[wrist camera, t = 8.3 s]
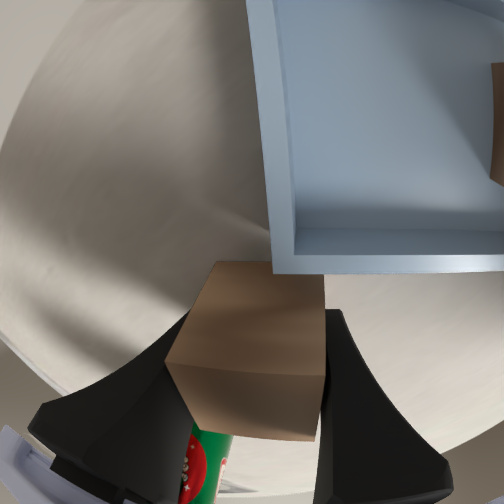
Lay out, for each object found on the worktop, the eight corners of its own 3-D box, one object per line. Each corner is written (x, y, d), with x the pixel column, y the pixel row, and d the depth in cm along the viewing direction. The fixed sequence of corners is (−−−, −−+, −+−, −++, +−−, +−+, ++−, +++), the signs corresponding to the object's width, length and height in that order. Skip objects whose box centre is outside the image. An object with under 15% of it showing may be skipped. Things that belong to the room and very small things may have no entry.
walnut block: (323, 261, 10) (325, 375, 6) (319, 339, 12) (314, 441, 8) (216, 261, 11) (164, 361, 7) (231, 335, 13) (199, 429, 9)
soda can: (210, 424, 18) (165, 562, 8) (153, 389, 17) (87, 535, 7) (256, 408, 16) (212, 583, 6) (190, 367, 15) (112, 560, 5)
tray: (562, 49, 3) (594, 51, 1) (551, 240, 7) (578, 266, 5) (254, -20, 6) (238, -50, 4) (280, 237, 10) (273, 273, 8)
